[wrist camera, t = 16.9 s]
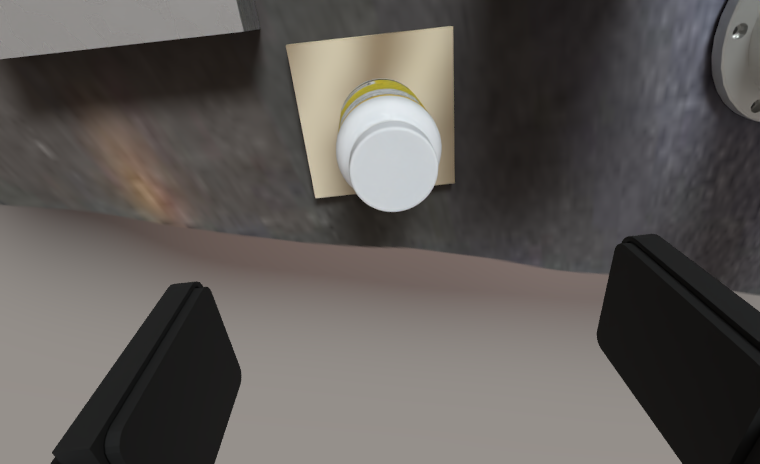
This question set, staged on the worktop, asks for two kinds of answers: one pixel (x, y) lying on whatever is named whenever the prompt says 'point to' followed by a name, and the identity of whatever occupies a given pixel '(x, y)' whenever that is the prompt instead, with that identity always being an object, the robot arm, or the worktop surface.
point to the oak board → (360, 64)
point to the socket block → (114, 23)
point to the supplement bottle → (387, 145)
